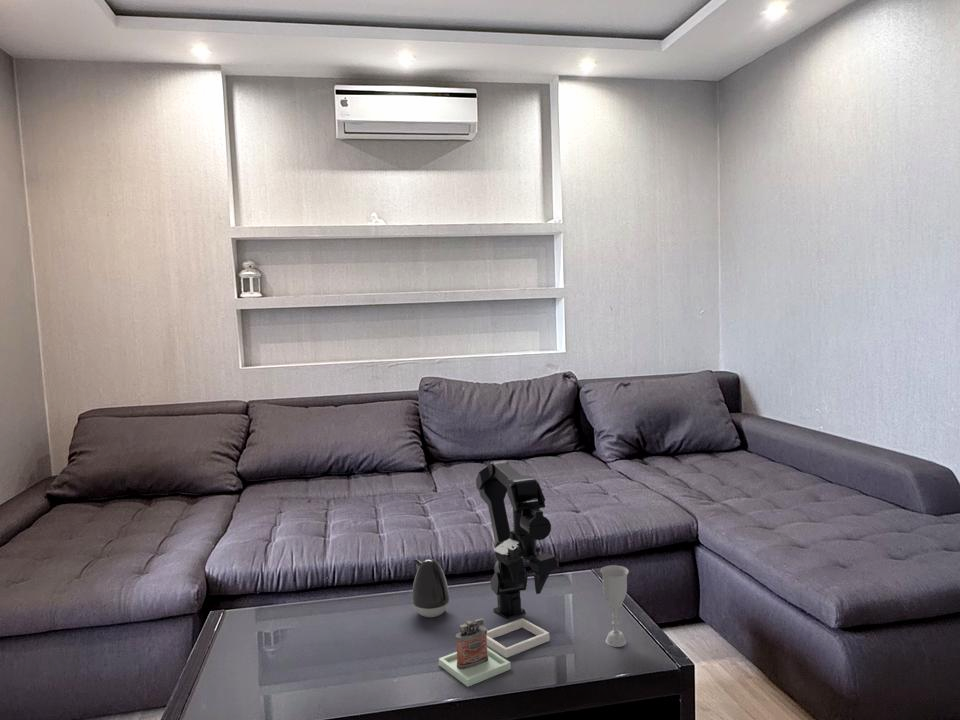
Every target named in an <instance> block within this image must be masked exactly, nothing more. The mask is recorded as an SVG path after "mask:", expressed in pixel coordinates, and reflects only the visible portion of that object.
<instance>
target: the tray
mask: <svg viewBox="0 0 960 720" xmlns="http://www.w3.org/2000/svg"><path fill="white" fill-rule="evenodd" d="M487 655H488V661H487V662H485V663H483V664H480V665H478V666H475V667H472V668H468V669H458V668H457V651H454V652H452V653H449V654H447V655H444V656H442V657H439V658H438V666H439V667H440V668H442V669H444V671H446V672H447V673H449V675H450V674H451V676H453V678H455V679H457V680H458V682H461V683H462V684H463V685H464V686H466V687H471V686H473V685H475V684H478V683H480V682H481V683H482V682H483V681H485V680H488V679H490V678H493V677H495V676H497V675H499V674H502V673H505V672H507V671H510V670H512V665H511V661H509V660H508V659H507V658H505V657H504V656H502V655H501V654H499V653H497V652H496V651H494V650H493V649H491V648H490V647H488V646H487Z"/></svg>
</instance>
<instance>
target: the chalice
mask: <svg viewBox="0 0 960 720" xmlns="http://www.w3.org/2000/svg"><path fill="white" fill-rule="evenodd" d="M600 573H601V575H602V592H603V595H604V597H605V600H606V602H607V604H608V606H609V608H612V610H613V611H612V615H611V616H612V618H613V621H612V622H611V624H613V629H612V630H610V631H609V632H608V633H607V637H606V639H605V644H607V645H608V646H610V647H615V648H620V647H623V646H625V645H626V644H627V641H626V639H625V637H624V634H623V632H622V631H621V630H619V629H618V626H619V624H620V622H619V621H618V617H619V613H618V609H620V608H621V607H622V605H623V602H624V600H625V598H626V595H627V593H628V592H627V591H628V579H627V578H628V574H629V569H628V568H627V567H625V566H622V565H616V564H614V565H611V564H610V565H606V566H603V567H601V569H600Z"/></svg>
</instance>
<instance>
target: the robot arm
mask: <svg viewBox="0 0 960 720" xmlns="http://www.w3.org/2000/svg"><path fill="white" fill-rule="evenodd" d="M475 484H476V485H475V486H476V489H477V490H478V491H479V496H480V498H481V499H482V500H483V501H484V503H486V505H487V506H488V507H487V508H488V512H489V518H490V523H491V528H492V533H493V539H494V543H495V546H494V548H493V552H494V554H495V557H496V561H495V564H494V568H493V570H494V574H493V575H492V577H491V580H490V588H491V590H492V591H493V593H495V595H496V597H497V607H495V608H493V609H492V610H493V612H494V613H497V614H498V615H500V616H502V617H503V618H505V619H510V618H512V617H513V618H514V617H515V616H518V615H521V614H523V613H526V609H524V608H522V598H521V591H526V590H527V585H528V577H529V576H528V575H529V574H528V571H527V570H526V568H525V565H524V564H525V563H524V560H527V561H529V567H530V569H529V572H530V573H531V574H532V575H533V580H534V588H535V589H534V590H535V594H536V595H539V594H541V593H542V591H543V588H544V586H545V584H546V582H547V580H548V579H549V576H550V575H551V573H552V571H554V570H557V569H558V568H559V559H558V558H557V556H554V555H551V554H550V553H547V552H544V553H542V554H537V553H539V552H541V547H540V546H538V545H537V541H542V540H544V539H546V538H548V536H549V535H550V533H551V531H552V524H551V521H550V520H549V519H548V518H547V517H546V516H544V511H543V510H541V509H544V508H546V499H545V495H544V493H543V489H542V488H541V485H540V483H539V481H537V479H536V478H535V477H533V476H532V475H526V474H525V475H524V474H520V473H519V472H518V470H516V469H515V468H513V467H512V466H511V465H510V464H509V462H508V460H505V459H501V460H500V459H499V460H492V461H491V462H488V465H487V466H486V467H484V468H483V469H481V470H480V471H479V472H478V474H477V476H476V479H475ZM506 495H507V497H508V499H509V501H510V505H511V507H512V525H513V530H511V528H510V525H509V519H508V515H507V514H508V513H507V510H506V504H505V498H506Z"/></svg>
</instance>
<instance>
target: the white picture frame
mask: <svg viewBox="0 0 960 720" xmlns="http://www.w3.org/2000/svg"><path fill="white" fill-rule="evenodd" d="M519 629H524V630H526V631H528V632H530V633H531V634H533V635H535V636H533V637H531V638H530V637H529V638H528V639H525V640H522V641H520V642H518V643H515V644H512V645H510V646H508V647H506V646H505V645H503V644H501V643H500V642H498V641H497V640H496V639H495V638H497V637H500V636H503V635H506V634H508V633H513V631H517V630H519ZM548 642H550V632H548V631H547V630H545V629H543V628H542V627H540V626H537V625H536V624H534V623H532V622H530V621H529V620H527V619H525V618H523V617H522V618H519V619H516V620H514V621H511V622H508V623H505V624H503V625H499V626H497V627H494V628H492V629H490V630H487V647H488V648H489V649H491V650H492V651H494V652H495V653H497V654H498V655H500V656H501V657H503V658H504V659H507V658H509V657H512V656H515V655H518V654H520V653H522V652H524V651H527V650H529V649H533V648H535V647H537V646H539V645H543V644H545V643H548Z"/></svg>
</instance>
